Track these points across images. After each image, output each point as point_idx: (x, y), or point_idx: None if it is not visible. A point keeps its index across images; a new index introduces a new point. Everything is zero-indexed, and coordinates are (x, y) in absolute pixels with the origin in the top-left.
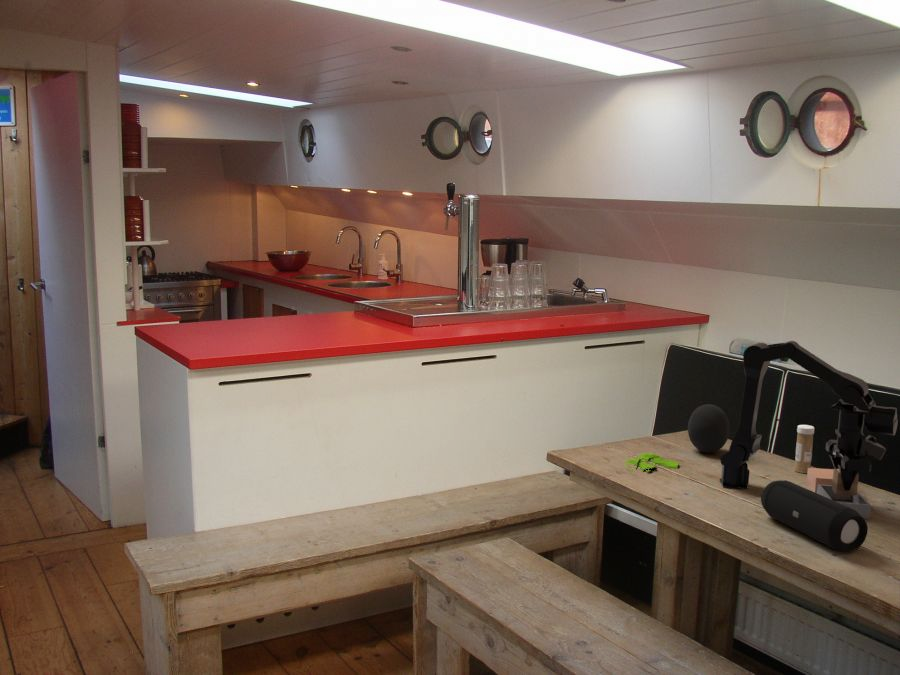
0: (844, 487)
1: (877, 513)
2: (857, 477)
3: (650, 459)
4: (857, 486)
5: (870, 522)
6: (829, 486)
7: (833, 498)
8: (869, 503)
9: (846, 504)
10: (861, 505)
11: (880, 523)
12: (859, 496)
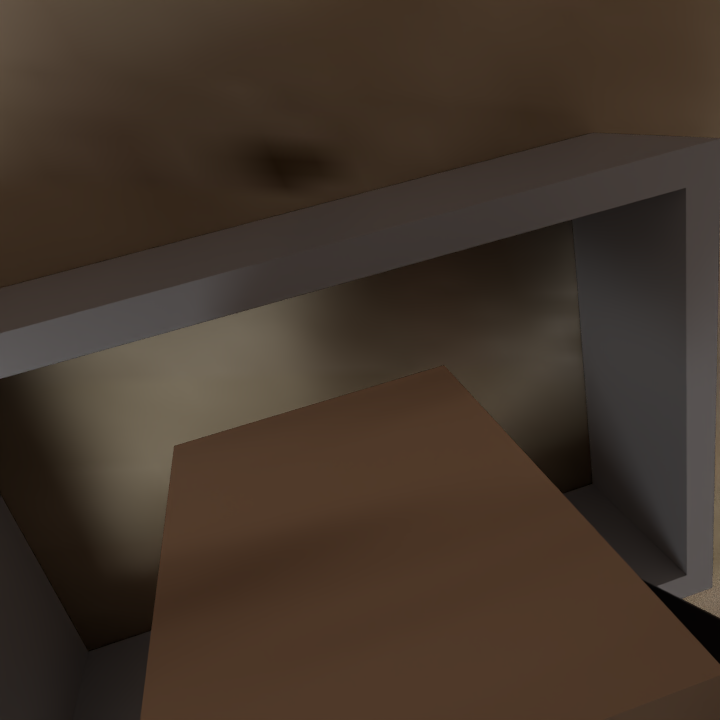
0: None
1: (345, 6)
2: (655, 617)
3: None
4: (514, 446)
5: (701, 133)
6: (2, 714)
7: (20, 538)
8: (645, 160)
9: (705, 449)
10: (708, 276)
11: (712, 12)
12: (257, 300)
